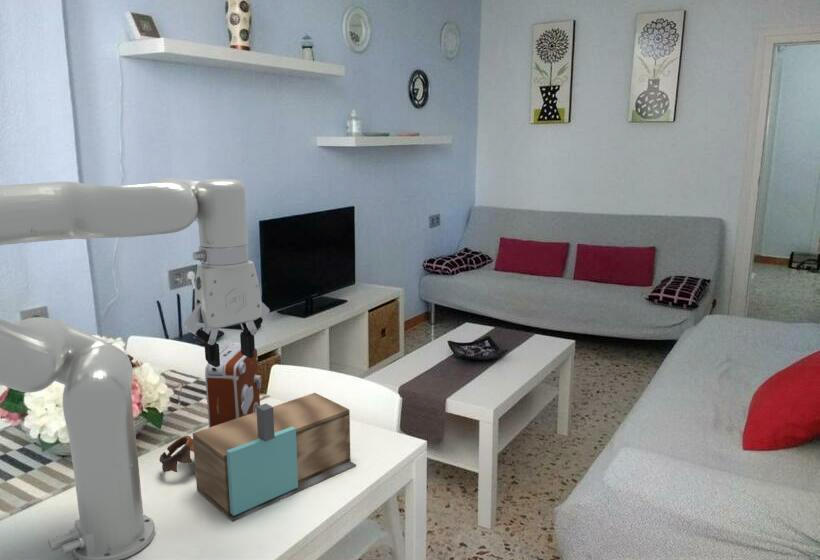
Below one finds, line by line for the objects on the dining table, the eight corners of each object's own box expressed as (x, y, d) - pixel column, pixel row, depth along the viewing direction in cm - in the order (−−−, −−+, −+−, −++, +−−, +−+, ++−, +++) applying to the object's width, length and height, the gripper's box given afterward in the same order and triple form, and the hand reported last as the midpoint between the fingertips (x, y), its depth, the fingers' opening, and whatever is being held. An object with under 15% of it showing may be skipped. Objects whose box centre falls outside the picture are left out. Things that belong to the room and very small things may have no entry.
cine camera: (273, 414, 155) (269, 336, 151) (245, 452, 137) (240, 364, 132) (237, 412, 156) (232, 334, 152) (204, 450, 137) (198, 362, 133)
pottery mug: (205, 487, 124) (180, 457, 121) (171, 499, 127) (145, 469, 125) (232, 445, 134) (209, 416, 132) (199, 457, 138) (176, 429, 135)
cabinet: (232, 521, 112) (228, 459, 109) (196, 490, 122) (192, 433, 119) (355, 466, 131) (355, 412, 128) (316, 443, 141) (314, 392, 138)
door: (235, 517, 112) (229, 421, 108) (228, 511, 114) (222, 417, 110) (299, 488, 121) (296, 399, 117) (292, 483, 123) (289, 395, 119)
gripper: (184, 265, 95) (192, 379, 99) (282, 252, 107) (286, 354, 111) (163, 259, 100) (172, 367, 104) (258, 246, 112) (263, 344, 116)
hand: (230, 359), depth 107 cm, fingers open, 5 cm apart
